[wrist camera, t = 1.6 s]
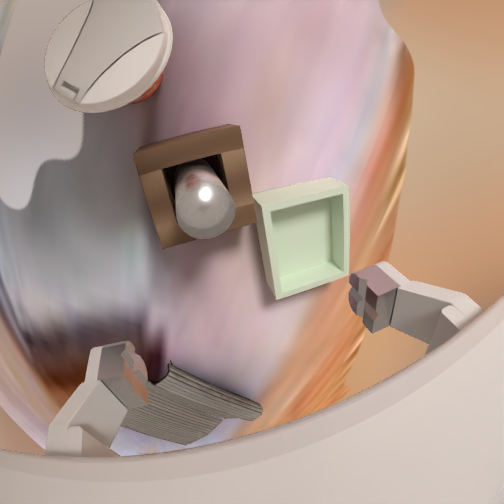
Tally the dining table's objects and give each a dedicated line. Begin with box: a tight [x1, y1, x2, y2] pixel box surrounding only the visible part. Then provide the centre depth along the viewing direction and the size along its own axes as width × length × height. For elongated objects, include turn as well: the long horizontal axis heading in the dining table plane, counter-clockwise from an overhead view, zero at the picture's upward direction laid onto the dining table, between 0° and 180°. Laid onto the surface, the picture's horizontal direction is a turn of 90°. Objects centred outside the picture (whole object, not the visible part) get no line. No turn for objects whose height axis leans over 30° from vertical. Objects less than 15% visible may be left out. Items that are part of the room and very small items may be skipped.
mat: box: [120, 360, 263, 445], centre depth 44 cm, size 23×24×5 cm
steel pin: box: [175, 159, 235, 239], centre depth 23 cm, size 4×4×11 cm
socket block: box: [133, 124, 257, 249], centre depth 26 cm, size 9×9×5 cm
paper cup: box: [44, 0, 173, 113], centre depth 15 cm, size 8×8×14 cm
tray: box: [252, 177, 350, 300], centre depth 32 cm, size 12×10×4 cm
